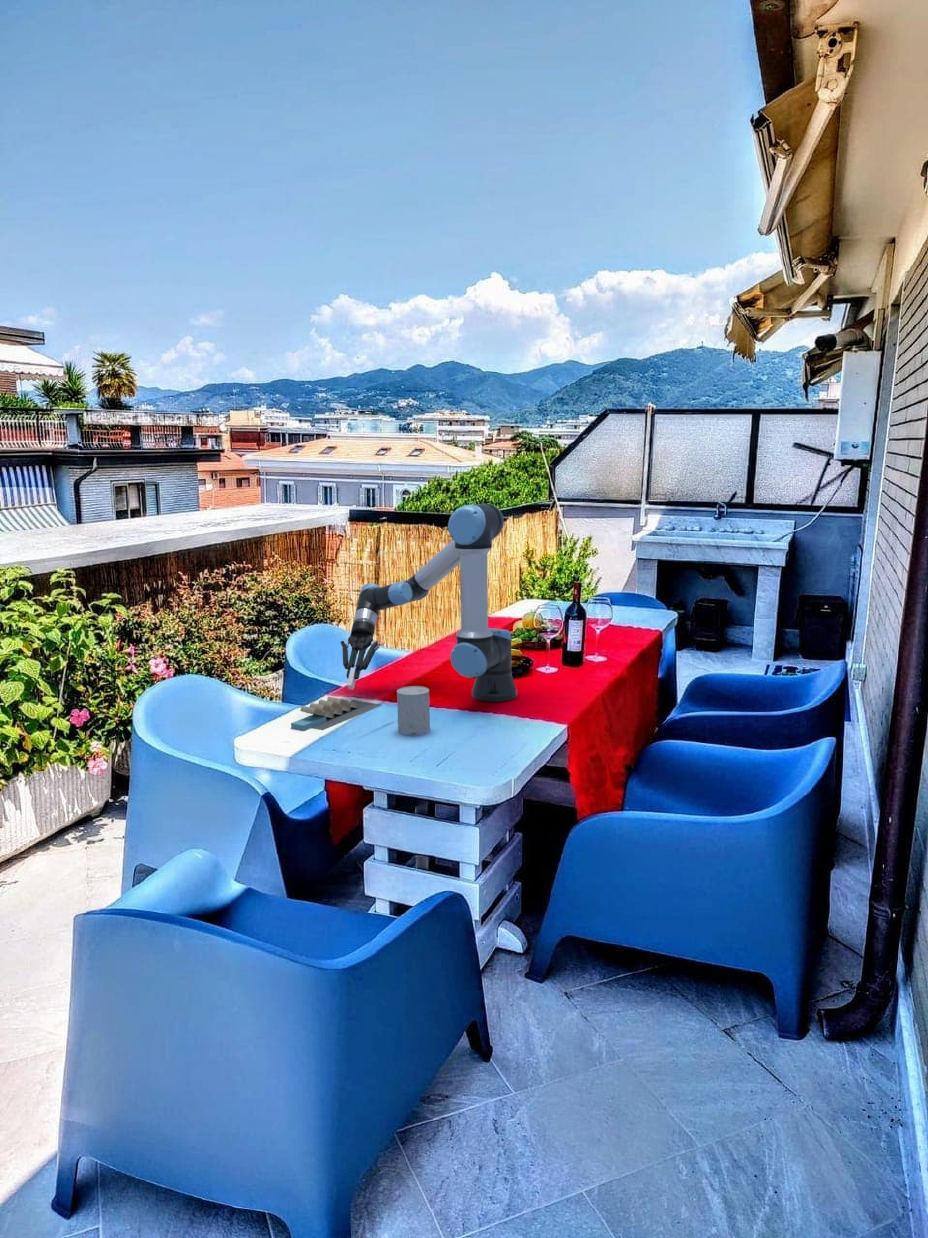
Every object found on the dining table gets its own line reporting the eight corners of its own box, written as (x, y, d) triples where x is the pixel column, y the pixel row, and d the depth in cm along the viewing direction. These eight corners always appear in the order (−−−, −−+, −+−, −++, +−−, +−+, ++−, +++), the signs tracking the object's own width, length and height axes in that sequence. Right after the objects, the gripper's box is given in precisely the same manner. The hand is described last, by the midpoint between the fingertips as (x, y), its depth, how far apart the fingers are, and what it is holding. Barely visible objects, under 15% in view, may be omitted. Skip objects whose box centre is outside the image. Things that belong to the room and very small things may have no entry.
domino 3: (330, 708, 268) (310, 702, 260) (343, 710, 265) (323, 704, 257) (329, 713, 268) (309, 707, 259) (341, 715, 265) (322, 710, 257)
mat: (353, 702, 282) (353, 700, 282) (383, 707, 276) (383, 704, 276) (291, 727, 257) (291, 724, 257) (322, 733, 251) (322, 730, 251)
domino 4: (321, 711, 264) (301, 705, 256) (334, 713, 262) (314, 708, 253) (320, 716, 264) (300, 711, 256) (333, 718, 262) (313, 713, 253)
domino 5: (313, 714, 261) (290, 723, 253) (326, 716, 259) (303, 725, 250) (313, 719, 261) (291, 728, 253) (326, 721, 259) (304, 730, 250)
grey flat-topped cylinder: (418, 737, 246) (416, 696, 243) (391, 732, 250) (390, 692, 248) (436, 728, 253) (435, 688, 251) (410, 724, 258) (409, 684, 256)
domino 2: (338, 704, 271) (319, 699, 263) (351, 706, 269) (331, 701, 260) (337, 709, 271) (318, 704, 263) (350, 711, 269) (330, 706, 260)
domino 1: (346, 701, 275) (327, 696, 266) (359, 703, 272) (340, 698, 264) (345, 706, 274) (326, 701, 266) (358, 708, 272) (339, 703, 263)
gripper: (385, 632, 285) (372, 693, 272) (348, 631, 287) (333, 692, 274) (380, 619, 279) (367, 682, 266) (342, 618, 281) (327, 680, 268)
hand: (350, 687), depth 270 cm, fingers closed
